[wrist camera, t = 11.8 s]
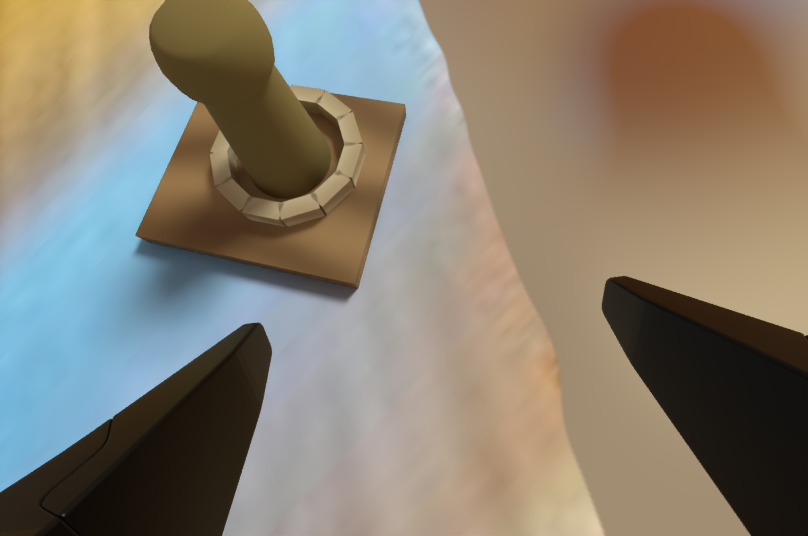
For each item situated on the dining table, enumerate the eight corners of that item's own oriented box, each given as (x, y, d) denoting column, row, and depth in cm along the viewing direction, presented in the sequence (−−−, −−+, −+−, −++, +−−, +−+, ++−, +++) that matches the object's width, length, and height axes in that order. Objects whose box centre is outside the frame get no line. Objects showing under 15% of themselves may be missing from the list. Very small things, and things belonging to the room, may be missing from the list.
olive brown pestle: (330, 196, 24) (254, 62, 14) (245, 201, 25) (107, 74, 14) (332, 122, 26) (267, -47, 15) (253, 128, 26) (135, -34, 16)
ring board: (358, 288, 24) (350, 279, 21) (148, 241, 26) (120, 228, 23) (406, 115, 27) (404, 91, 25) (218, 86, 29) (200, 62, 27)
